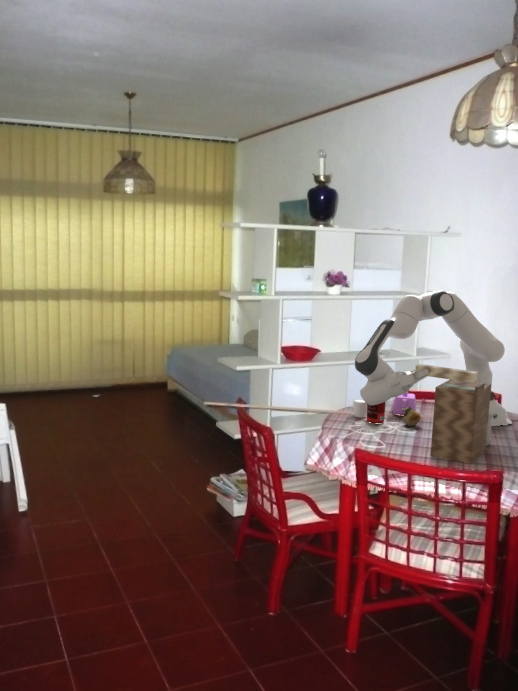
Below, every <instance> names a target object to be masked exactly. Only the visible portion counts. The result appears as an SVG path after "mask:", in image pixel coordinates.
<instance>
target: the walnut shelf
mask: <svg viewBox="0 0 518 691" xmlns="http://www.w3.org/2000/svg"><path fill="white" fill-rule="evenodd" d="M491 391H492V387H491V384H489V383H481V382H475V383H471V382H464V381H457V380H450V379H447V381H445V382H443V383H440V384H439V385H437V386H436V387H435V392H434V403H433V404H434V405H433V414H432V415H433V417H432V418H433V419H432V430H431V443H430V457H434V458H440V459H445V460H450V461H455V462H460V463H463V464H464V463H465V464H469V465H473V463H474V462H475V461H476V460H477V459H479V457H480V456H481V455H482V454H483V453H484V452H486V448H487V446H486V438H487V427H488V416H489V405H490V394H491Z"/></svg>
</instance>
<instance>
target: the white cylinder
mask: <svg viewBox="0 0 518 691" xmlns="http://www.w3.org/2000/svg"><path fill="white" fill-rule="evenodd" d="M352 404H353V406H352V408H353V410H352V411H353V416H354V417H356V418H366V417H367V403H366V402H365V401H364V400H363V398H357V399H352ZM365 416H366V417H365Z"/></svg>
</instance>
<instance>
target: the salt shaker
mask: <svg viewBox="0 0 518 691" xmlns="http://www.w3.org/2000/svg"><path fill="white" fill-rule="evenodd" d="M490 419H492V413H490V412H489V416H488V427H487V438H486V447H487V446H490V445H491V443H492V441H493V436H492V426H491V423H490Z"/></svg>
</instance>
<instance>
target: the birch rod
mask: <svg viewBox="0 0 518 691" xmlns="http://www.w3.org/2000/svg"><path fill="white" fill-rule="evenodd" d="M426 369H429V371H430V373H429V374H426V375H424V376H427V377H431V378H437V379H445V380H457V381H464V382H471V383H475V382H477V377H478V372H475V371H467V370H466V369H459V368H451V367H443V366H437V365H429V364H420V363H417V364H416V365H415V369H414V370H415V371H417V372H420V371H423V370H426Z"/></svg>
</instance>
